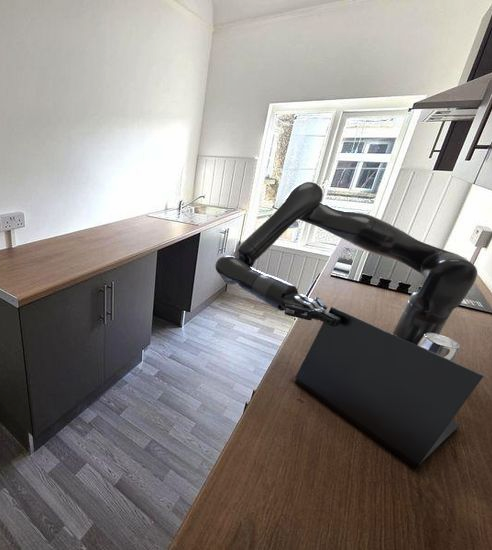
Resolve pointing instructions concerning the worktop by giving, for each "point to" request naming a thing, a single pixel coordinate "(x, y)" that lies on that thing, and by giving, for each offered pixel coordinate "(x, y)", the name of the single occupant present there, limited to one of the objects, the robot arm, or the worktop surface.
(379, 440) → the laptop
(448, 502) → the worktop surface
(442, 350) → the beer glass
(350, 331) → the laptop screen
